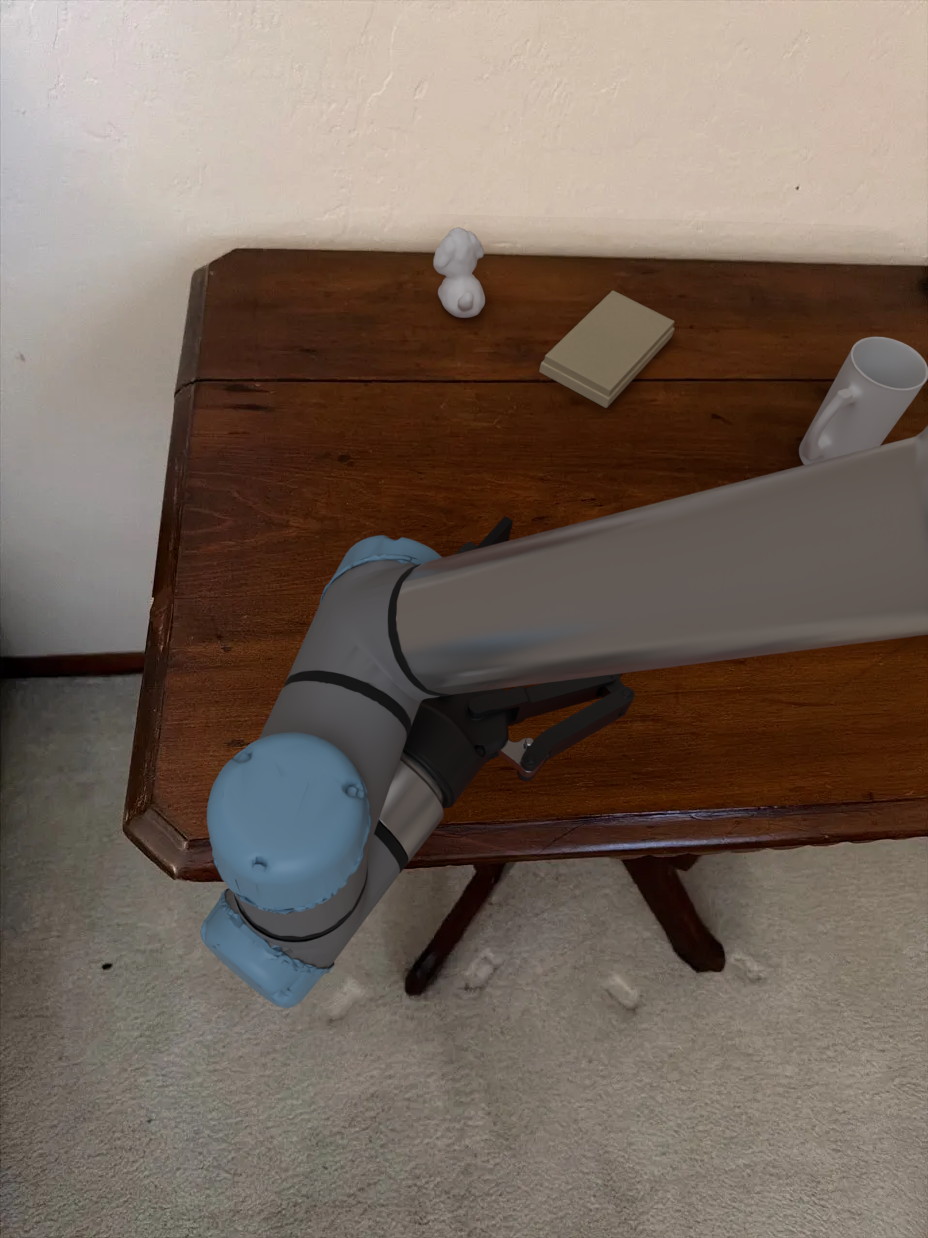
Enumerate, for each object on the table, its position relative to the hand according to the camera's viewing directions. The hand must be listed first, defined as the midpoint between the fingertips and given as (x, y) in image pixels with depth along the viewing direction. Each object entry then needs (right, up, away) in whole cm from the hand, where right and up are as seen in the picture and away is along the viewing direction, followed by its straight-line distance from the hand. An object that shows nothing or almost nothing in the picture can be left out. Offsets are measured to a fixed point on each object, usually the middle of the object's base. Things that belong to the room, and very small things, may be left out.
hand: (572, 568), depth 69 cm
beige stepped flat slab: (+6, +24, +23) cm, 34 cm away
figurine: (-9, +29, +25) cm, 40 cm away
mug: (+26, +11, +17) cm, 33 cm away
